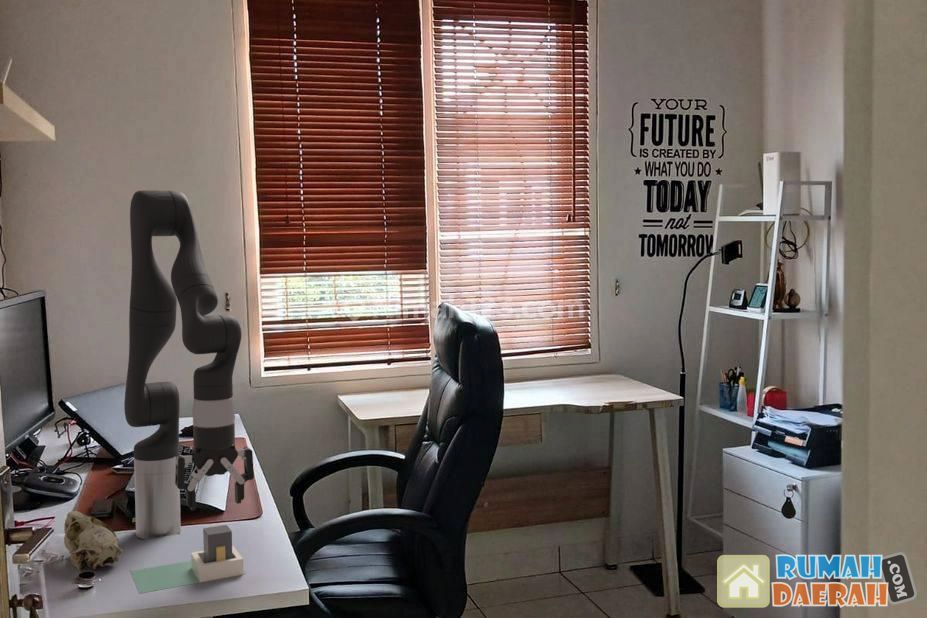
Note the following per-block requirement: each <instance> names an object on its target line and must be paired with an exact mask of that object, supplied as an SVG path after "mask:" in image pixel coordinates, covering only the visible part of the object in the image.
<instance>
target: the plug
mask: <svg viewBox="0 0 927 618" xmlns="http://www.w3.org/2000/svg"><path fill="white" fill-rule="evenodd" d="M202 530H203V531H202V532H203V533H202V535H203V551H204V564H205V563H211V562H216V561H222V560H228V559H232V546H233V531H232V530H231V529H230V527H229V525H227V524H223V525H222V524H221V525H216V526H209V527H203V529H202Z"/></svg>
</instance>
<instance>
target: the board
mask: <svg viewBox="0 0 927 618" xmlns="http://www.w3.org/2000/svg"><path fill="white" fill-rule="evenodd" d="M130 573H131V576H132V578H133V581H134V584H135V586H136V589H137V591H138V594H139V595H140V594H145V593H151V592H156V591H161V590H167V589H172V588H179V587H182V586H183V587H185V586H189V585H194V584H200V583H201V582H199V580H198V578H197V577H196V575H195V573H194V571H193V570H192V567H191V560H187V561H181V562H175V563H170V564H163V565H158V566H152V567H147V568H140V569H135V570H131V571H130ZM246 574H247V573H246V572H245V571H244V569H243V574H242V575H241V576H244V575H246ZM238 576H239V575H237V576H236V577H238ZM232 577H234V576H232ZM232 577H231V578H232ZM227 578H229V577H226V578H225V579H227ZM221 579H223V578H221ZM221 579H220V580H221ZM215 580H218V579H215ZM215 580H214V581H215ZM211 581H212V580H210V581H209V582H211ZM205 582H207V581H204V582H203V583H205Z"/></svg>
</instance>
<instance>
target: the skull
mask: <svg viewBox="0 0 927 618" xmlns="http://www.w3.org/2000/svg"><path fill="white" fill-rule="evenodd" d="M65 518H66V519H65V520H64V526H63V527H64V528H63V529H64V539H63V541H64V542H63V544H64V546H65V548H66V549H67V550H68V552H69V553H70V556H69V560H70V563H71V564H72V565H73V566H74V567H75V568H77V571H78V572H83V571H82V568H83V566H85V564H86V565H87V566H88V567H90V568H92V569H93V570H96V568H97V567H98V566H99V567H101V568H103V567H106V566H107V565H114V563H116V562H117V563H118V562H119V556H120V555H121V554H122V552H123V551H124V550H123V549H122V548H120V547H119V546H118V541H119V538H118V536H117V535H116V533H115V532H114V530H113V529H112V527H111V526H109V525H107V524H106V523H104V522H103V521H101V520H100V519H97V518H96V517H93V516H88V515H86V514H84V513H83V512H80V511H77V510H72V511H69V512H67V515H66V517H65Z"/></svg>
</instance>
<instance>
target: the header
mask: <svg viewBox="0 0 927 618" xmlns="http://www.w3.org/2000/svg"><path fill="white" fill-rule="evenodd" d="M190 558H191V560H190V561H191V567H192V570H193V571H194V573H195V575H196V577H197V578H198V580H199V582H200V583H205V582H204V581H206V582H211V581H215V579H217V580H221V578H222V579H227V578H226V577H228V578H232V576H233V577H238V576H243V575H242V574H243V570H244V557H242V556H241V554H240V553H239V551H238V550H237V548H236V547H235V546H234V545H232V559H228V560H222V561H216V562H211V563H205V564H204V550H199V551H192V552H191V553H190ZM237 575H238V576H237ZM210 580H211V581H210Z"/></svg>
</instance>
